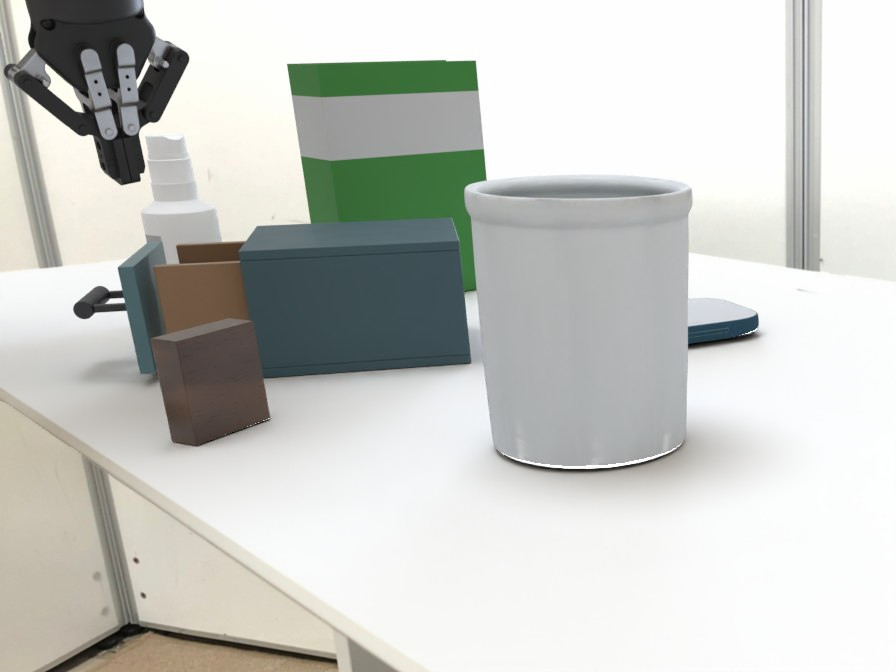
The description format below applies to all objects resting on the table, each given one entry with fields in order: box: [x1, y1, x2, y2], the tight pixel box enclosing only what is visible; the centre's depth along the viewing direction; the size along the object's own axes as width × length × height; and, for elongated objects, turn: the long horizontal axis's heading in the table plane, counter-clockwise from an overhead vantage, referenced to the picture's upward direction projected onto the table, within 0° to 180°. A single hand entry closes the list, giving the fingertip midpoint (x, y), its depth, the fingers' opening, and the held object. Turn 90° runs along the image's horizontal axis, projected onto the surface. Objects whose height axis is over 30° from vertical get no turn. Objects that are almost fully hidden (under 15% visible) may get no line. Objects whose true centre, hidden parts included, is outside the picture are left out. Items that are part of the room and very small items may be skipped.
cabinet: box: [238, 217, 472, 379], centre depth 108 cm, size 18×15×11 cm
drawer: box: [72, 240, 250, 375], centre depth 105 cm, size 21×13×9 cm, turn 105°
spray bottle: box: [140, 133, 223, 265], centre depth 118 cm, size 7×7×18 cm
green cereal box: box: [286, 59, 488, 292], centre depth 130 cm, size 18×7×24 cm, turn 131°
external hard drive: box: [688, 297, 760, 345], centre depth 112 cm, size 24×12×2 cm, turn 120°
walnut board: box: [151, 318, 271, 447], centre depth 86 cm, size 2×7×8 cm, turn 155°
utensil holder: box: [464, 174, 694, 466], centre depth 82 cm, size 15×15×18 cm
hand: (125, 180), depth 93 cm, fingers closed
